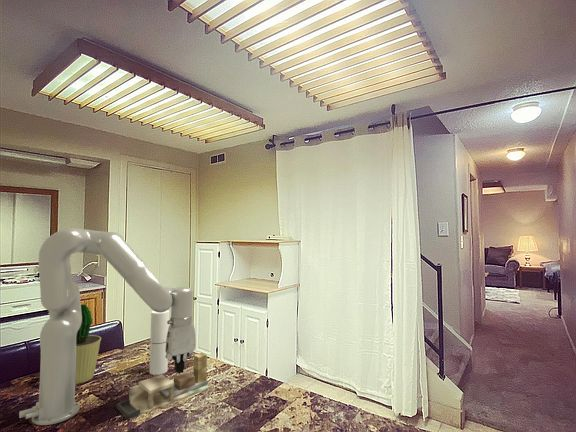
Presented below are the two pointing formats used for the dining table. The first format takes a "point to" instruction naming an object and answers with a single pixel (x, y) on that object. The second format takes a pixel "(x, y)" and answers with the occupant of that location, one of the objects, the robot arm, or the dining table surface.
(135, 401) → the tunnel
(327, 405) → the dining table surface
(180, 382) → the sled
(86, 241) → the robot arm
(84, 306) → the potted cactus
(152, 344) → the cylindrical container
